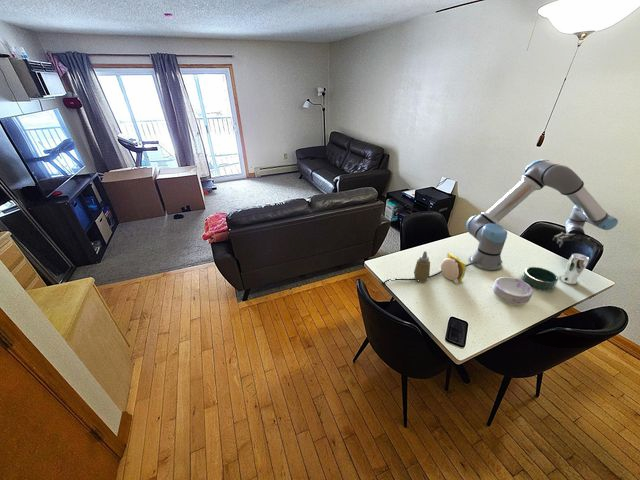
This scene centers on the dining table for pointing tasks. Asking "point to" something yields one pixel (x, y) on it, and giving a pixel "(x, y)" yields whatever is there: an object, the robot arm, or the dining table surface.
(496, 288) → the lavender bowl
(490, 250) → the robot arm
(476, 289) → the dining table surface
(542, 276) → the glazed bowl
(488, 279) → the dining table surface
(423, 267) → the squeeze bottle
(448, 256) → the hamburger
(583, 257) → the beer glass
